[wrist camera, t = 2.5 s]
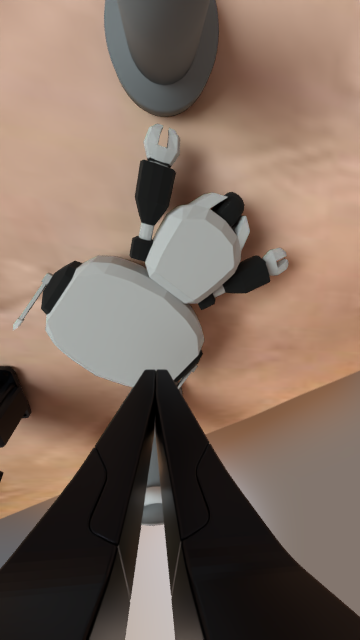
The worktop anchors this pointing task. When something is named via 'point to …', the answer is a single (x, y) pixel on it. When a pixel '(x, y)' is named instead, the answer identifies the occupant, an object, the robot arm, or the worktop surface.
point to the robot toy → (154, 280)
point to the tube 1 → (162, 50)
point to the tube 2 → (153, 490)
